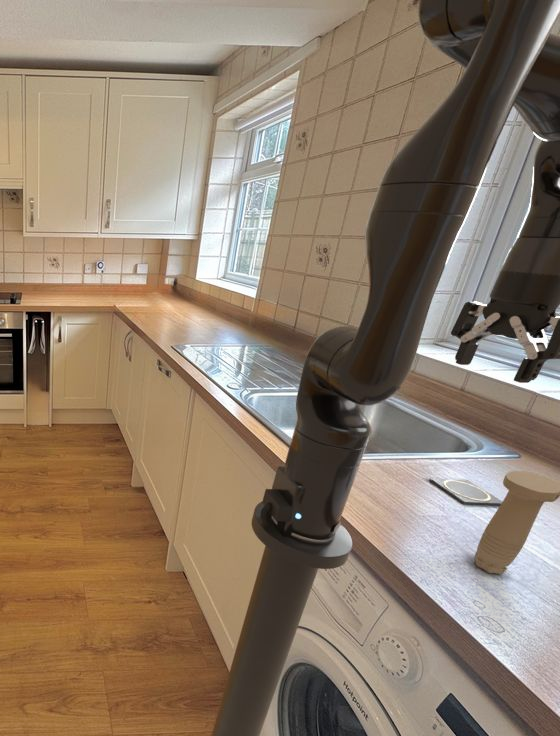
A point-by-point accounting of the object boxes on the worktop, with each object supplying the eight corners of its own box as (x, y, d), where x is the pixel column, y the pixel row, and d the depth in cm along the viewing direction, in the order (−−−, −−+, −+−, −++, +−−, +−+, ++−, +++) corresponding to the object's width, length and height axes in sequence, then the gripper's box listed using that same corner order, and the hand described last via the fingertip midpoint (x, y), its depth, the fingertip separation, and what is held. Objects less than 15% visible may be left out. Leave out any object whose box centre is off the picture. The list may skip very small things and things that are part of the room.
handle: (521, 573, 59) (571, 487, 54) (497, 585, 57) (547, 496, 52) (478, 550, 64) (522, 468, 58) (454, 561, 61) (497, 476, 56)
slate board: (463, 504, 75) (465, 501, 74) (428, 480, 82) (430, 477, 82) (505, 505, 75) (506, 503, 74) (466, 482, 82) (467, 479, 81)
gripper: (464, 265, 67) (427, 359, 73) (580, 275, 54) (523, 389, 60) (503, 266, 68) (463, 359, 74) (625, 276, 55) (565, 388, 61)
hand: (490, 372), depth 67 cm, fingers open, 8 cm apart
